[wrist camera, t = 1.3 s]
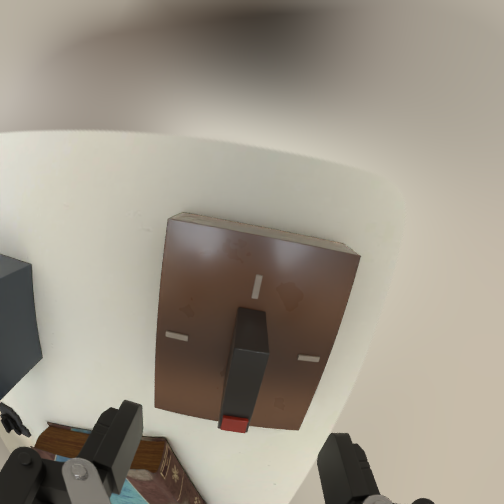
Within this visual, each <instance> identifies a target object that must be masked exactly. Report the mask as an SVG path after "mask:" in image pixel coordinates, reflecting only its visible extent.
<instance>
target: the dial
mask: <svg viewBox="0 0 504 504" xmlns="http://www.w3.org/2000/svg"><path fill="white" fill-rule="evenodd" d="M269 354H270V353H269V342H268V332H267V321H266V312H263V311H258V310H252V309H246V308H241V307H239V308H238V311H237V317H236V322H235V327H234V332H233V337H232V342H231V347H230V352H229V358H228V363H227V368H226V373H225V378H224V385H223V392H222V399H221V407H220V414H219V422H218V428H220V429H221V430H226V431H233V432H240V433H245V432H247V431H248V428H249V424H250V421H251V418H252V414H253V411H254V408H255V404H256V401H257V397H258V394H259V390H260V387H261V383H262V380H263V376H264V373H265V369H266V365H267V362H268V358H269Z"/></svg>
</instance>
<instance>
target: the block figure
mask: <svg viewBox="0 0 504 504" xmlns="http://www.w3.org/2000/svg"><path fill="white" fill-rule="evenodd" d="M0 411H1V413H2V414H1V415H0V416H1V418H2V419H1V422H2V424H3V426H4V428H5V429H6V431H7V432H8V433H10V431H11V430H12V429H14V431H15V432H16V433H17V434H18V435H21V434H23V435H25V436H27V437H28V438H29V437H30V436H31V434H30V432H29V430H28V429H26V427H25V426H23V425H22V422H21V420H20V418H19V416H18V415H17V414H16V412H14V411H13V409H12V408H10V407H8V406H6V405H5V404H3V403H2V402H1V403H0Z"/></svg>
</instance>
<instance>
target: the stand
mask: <svg viewBox="0 0 504 504" xmlns="http://www.w3.org/2000/svg"><path fill="white" fill-rule="evenodd" d="M41 359H42V353H41V348H40V343H39V337H38V330H37V323H36V316H35V307H34V298H33V286H32V269H31V264H29V263H26V262H23V261H20V260H17V259H14V258H11V257H8V256H5V255H2V254H0V400H1V399H2V398H3V397H4V396H5V395H6V394H7V393H8V392H9V391H10V390H11V389H12V388H13V387H14V386H15V385H16V384H17V383H18V382H19V381H20V380H21V379H22V378H23V377H24V376H25V375H26V374H27V373H28V372H29V371H30V370H31V369H32V368H33V367H34V366H35V365H36V364H37V363H38V362H39V361H40V360H41Z"/></svg>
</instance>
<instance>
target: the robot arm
mask: <svg viewBox="0 0 504 504" xmlns="http://www.w3.org/2000/svg"><path fill="white" fill-rule="evenodd" d="M142 433H143V413H142V405H141V404H137V403H134V402H131V401H128V400H124V401H123V402H122V404H121V406H120V408H119V410H118V409H115V408H112V407H110V408H109V409H107V410H106V411H104V412H103V413H102V414H101V416H100V417H99V419H98V421H97V424H95V426H94V428H93V430H92V431H91V433H90V435H89V436H88V438H87V440H86V442H85V443H84V445H83V447H82V449H81V450H80V452H79V454H78V455H77V456H76V457H75V458H72V459H69V460H67V461H65V462H60V461H54V460H49V459H44V458H41V456H40V455H39V454H38V452H36V451H35V450H34V449H32V448H29V447H19V448H17V449H15V450H14V451H13V452H12V453H11V455H10V457H9V459H8V460H7V462H6V463H5V465H4V466H3V468H2V470H1V472H0V504H111V502H110V497H111V494H112V493H115V494H117V495H120V493H121V490H122V487H123V485H124V482H125V479H126V477H127V474H128V471H129V469H130V466H131V463H132V461H133V458H134V456H135V453H136V450H137V448H138V445H139V443H140V440H141V437H142ZM317 465H318V470H319V475H320V479H321V485H322V490H323V494H324V499H325V504H394V503H392V502H391V501H390V500H389V498H387V497H385V496H383V495H381V494H380V493H379V490H378V487H377V484H376V482H375V479H374V476H373V474H372V471H371V469H370V465H369V463H368V462H367V457H366V455H365V452H364V450H363V449H362V448H361V447H360V446H359V445H358V444H352V441H351V438H350V436H349V434H348V433H331V434H330V435H329V436H328V438H327V440H326V442H325V443H324V445H323V447H322V449H321V450H320V452H319V454H318V458H317ZM412 504H434V502H432V501H431V500H429V499H426V498H420V499H417V500H415V501H414V502H413V503H412Z"/></svg>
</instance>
